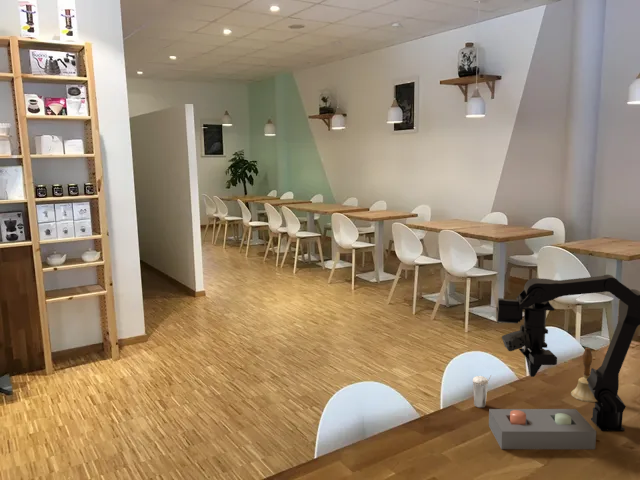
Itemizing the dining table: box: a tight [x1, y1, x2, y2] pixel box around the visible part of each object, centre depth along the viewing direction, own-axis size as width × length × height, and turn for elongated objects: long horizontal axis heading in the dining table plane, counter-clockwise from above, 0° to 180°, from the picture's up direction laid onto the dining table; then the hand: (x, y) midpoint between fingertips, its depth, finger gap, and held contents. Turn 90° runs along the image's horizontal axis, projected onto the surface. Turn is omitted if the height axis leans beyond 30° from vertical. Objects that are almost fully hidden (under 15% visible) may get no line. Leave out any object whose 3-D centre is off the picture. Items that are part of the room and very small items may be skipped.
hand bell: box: [570, 347, 598, 403], centre depth 164 cm, size 8×8×16 cm
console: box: [488, 408, 597, 450], centre depth 143 cm, size 24×12×5 cm, turn 88°
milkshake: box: [472, 375, 492, 409], centre depth 160 cm, size 4×5×10 cm
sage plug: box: [555, 413, 571, 425], centre depth 142 cm, size 4×4×5 cm
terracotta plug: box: [510, 410, 526, 425], centre depth 142 cm, size 4×4×5 cm
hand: (532, 376), depth 151 cm, fingers closed
